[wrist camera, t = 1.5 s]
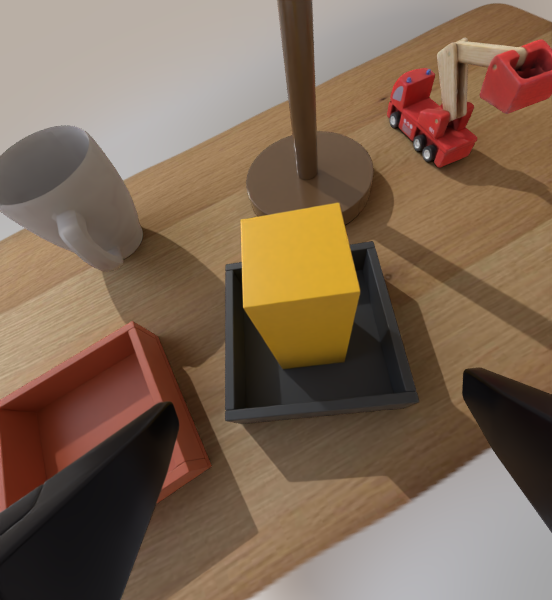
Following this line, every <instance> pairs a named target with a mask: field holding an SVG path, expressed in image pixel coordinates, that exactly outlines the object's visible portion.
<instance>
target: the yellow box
mask: <svg viewBox="0 0 552 600" xmlns="http://www.w3.org/2000/svg"><path fill="white" fill-rule="evenodd" d="M241 252H242V286H243V308H244V310H245V311H246V313H247V314H248V316H249V318H250V319H251V321H252V322H253V324H254V325H255V327H256V329H257V330H258V332H259V333H260V335H261V336H262V338H263V339H264V341H265V343H266V344H267V346H268V347H269V349H270V350H271V352H272V353H273V355H274V357H275V358H276V360H277V361H278V363H279V364H280V366H281V367H282V369H289V368H298V367H307V366H315V365H324V364H332V363H341V362H345V358H346V353H347V349H348V344H349V340H350V335H351V331H352V326H353V322H354V317H355V313H356V308H357V304H358V300H359V295H360V287H359V283H358V279H357V274H356V270H355V266H354V262H353V258H352V254H351V249H350V245H349V241H348V237H347V233H346V229H345V224H344V220H343V216H342V212H341V208H340V204H339V203H333V204H328V205H322V206H316V207H311V208H305V209H299V210H294V211H288V212H282V213H276V214H271V215H265V216H259V217H254V218H248V219H242V220H241Z"/></svg>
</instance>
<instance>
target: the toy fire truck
mask: <svg viewBox="0 0 552 600" xmlns="http://www.w3.org/2000/svg"><path fill="white" fill-rule="evenodd" d="M437 60H438V69H439V78H440V87H441V95H442V104H441V106H439V105H438V104H437V103H436V102H434V101H433V100H431V99H430V98H429V96H430V93H431V90H432V86H433V82H434V78H435V73H433V72H432V71H431V70H430V69H427V68H423V69H416V70H412V71H409V72H406V73H405V74H403V75H402V76H401V77H400V78H399V79H398V80H397V81H396V83H395V84H394V87H393V90H392V93H391V97H390V98H391V101H390V102H389V106H388V112H387V116H388V118H390V125H391V126H392V127H393V128H396V127H398V126H399V128H400V129H401V130H402V131H403V132H404V133H405V134H406V135H407V136H408V137H409V138H410V139H411V140H412V141H413V146H414V149H415V150H416V151H421V150H423V158H424V160H425V161H427V162H429V161H432V160H433V159H435V160H434V163H435V164H436V166H437V167H443V166H445V165H447V164H450V163H452V162H455V161H457V160H460V159H462V158H464V157H467V156H468V155H469V154H470V152H471V150H472V148H473V146H474V144H475V142H476V141H477V137H476V136H475V135H474V134H473V133H471V132H470V131H469V130H468V129H467V128H466V125H467V123H468V120H469V118H470V117H471V114H472V111H473V109H474V105H473V104H472V103H470V102H467V90H468V89H467V86H468V64H471V65H477V66H482V67H488V70H487V73H486V76H485V79H484V82H483V85H482V89H481V93H480V98H481V99H483V100H485V101H487V102H488V103H489V104H491V105H493V106H495V107H496V108H497V109H499V110H500V111H502V112H503V113H506V114H508V113H511V112H514V111H516V110H519V109H521V108H524V107H527V106H529V105H532V104H534V103H538V102H540V101H543V100H546V99H548V98H549V97H550V96H551V94H552V49H551V48H550V46H549V45H548V44H547V43H546V42H545V41H544V40H537V41H534V42H532V43H529V44H526V45H524V46H522V47H510V46H502V45H491V44H484V43H476V42H468V39H467V38H463V39H461V40H460V41H458V42H455V43H450V44H449V45H448V46H446V47H445V48H444V49H442V50H441V51H440V52H439V53H438V54H437ZM424 147H425V148H424Z"/></svg>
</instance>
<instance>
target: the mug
mask: <svg viewBox="0 0 552 600" xmlns="http://www.w3.org/2000/svg"><path fill="white" fill-rule="evenodd" d="M0 212H1V213H3V214H4V215H6V216H7V217H9V218H10V219H12V220H13V221H15V222H16V223H18V224H19V225H21V226H22V227H24V228H26V229H27V230H29V231H31V232H32V233H34V234H36V235H38V236H39V237H41V238H43V239H45V240H47V241H49V242H51V243H53V244H55V245H57V246H59V247H61V248H64V249H66V250H69V251H71V252H74V253H75V254H77V255H78V256H79V257H80V258H81V259H82V260H84V261H85V262H86V263H88V264H89V265H91V266H93V267H95V268H97V269H99V270H102V271H105V272H107V271H114V270H116V269H118V268H119V267H121V266H122V264H123V259H125V258H127V257H128V256H130V255H131V254H132V253H133V252H134V251H135V250H136V249H137V248H138V247H139V245H140V243H141V241H142V238H143V231H142V228H141V226H140V224H139V220H138V215H137V211H136V208H135V205H134V202H133V200H132V197H131V195H130V193H129V191H128V189H127V187H126V185H125V184H124V182H123V180H122V179H121V177H120V175H119V174H118V172H117V170H116V169H115V167H114V166H113V165H112V163H111V162H110V160H109V159H108V158H107V156H106V155H105V153H104V152H103V151H102V149H101V148H100V147H99V146H98V144H97V143H96V142H95V140H94V139H93V138H92V137H91V136H90V135H89V134H88V133H87V132H86V131H84V130H82V129H80V128H78V127H75V126H55V127H51V128H47V129H44V130H41V131H38V132H36V133H33V134H31V135H29V136H27V137H25V138H24V139H22V140H20V141H19V142H17V143H16V144H14V145H13V146H11V147H10V148H9V149H7V150H6V151H5V152H4V153H3V154H2V155H1V156H0Z"/></svg>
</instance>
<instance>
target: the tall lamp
mask: <svg viewBox="0 0 552 600" xmlns="http://www.w3.org/2000/svg"><path fill="white" fill-rule="evenodd" d="M277 3H278V12H279V20H280V30H281V38H282V47H283V56H284V65H285V73H286V82H287V90H288V100H289V108H290V117H291V126H292V135H291V136H288V137H286V138H283V139H281V140H279V141H277V142H275V143H273V144H272V145H270V146H269V147H267V148H266V149H265V150H263V151H262V152H261V153H260V154H259V155H258V156H257V158H256V159H255V160H254V162H253V163H252V165H251V167H250V169H249V171H248V175H247V180H246V187H247V192H248V195H249V198H250V201H251V205H252V208H253V210H254V212H255V214H256V215H257V217H259V216H265V215H271V214H276V213H282V212H288V211H294V210H299V209H305V208H311V207H316V206H322V205H328V204H333V203H339V204H340V208H341V212H342V216H343V220H344V224H345V225H346V224H348V223H349V222H351V221H352V220H353V219H354V218H355V217H356V216H358V214H359V213H360V212H361V211H362V210H363V208H364V207H365V205H366V203H367V201H368V199H369V195H370V191H371V185H372V179H373V164H372V161H371V158H370V156H369V154H368V152H367V151H366V150H365V149H364V148H363V147H362V146H361V145H360V144H359V143H357V142H356V141H354V140H353V139H351V138H349V137H347V136H344V135H341V134H337V133H332V132H323V131H317V125H316V95H315V69H314V40H313V38H314V37H313V8H312V0H277Z"/></svg>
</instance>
